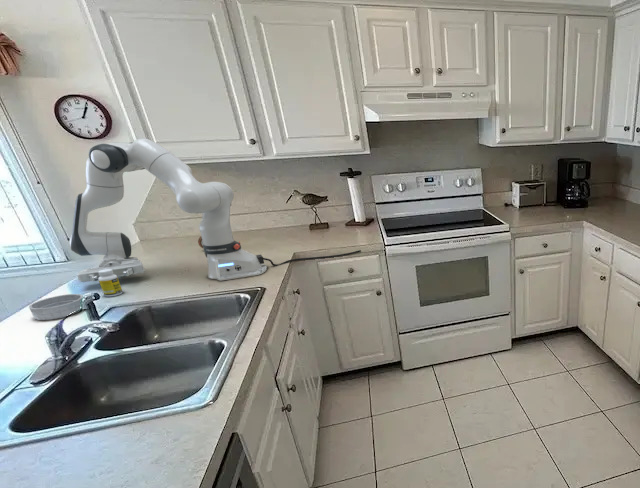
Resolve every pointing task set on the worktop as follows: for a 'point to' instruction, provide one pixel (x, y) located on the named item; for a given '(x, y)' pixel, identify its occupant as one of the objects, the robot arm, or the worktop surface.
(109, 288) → the supplement bottle
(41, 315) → the grey shallow bowl
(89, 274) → the robot arm
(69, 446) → the worktop surface
